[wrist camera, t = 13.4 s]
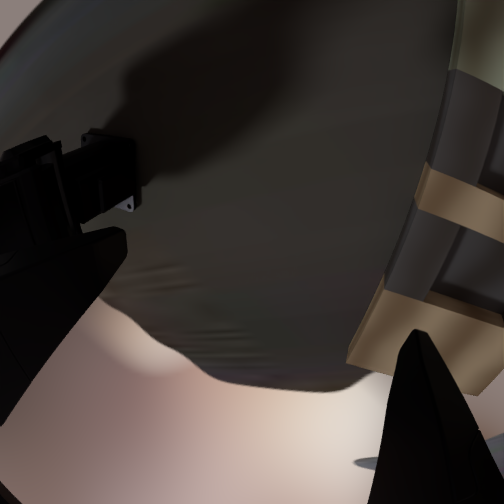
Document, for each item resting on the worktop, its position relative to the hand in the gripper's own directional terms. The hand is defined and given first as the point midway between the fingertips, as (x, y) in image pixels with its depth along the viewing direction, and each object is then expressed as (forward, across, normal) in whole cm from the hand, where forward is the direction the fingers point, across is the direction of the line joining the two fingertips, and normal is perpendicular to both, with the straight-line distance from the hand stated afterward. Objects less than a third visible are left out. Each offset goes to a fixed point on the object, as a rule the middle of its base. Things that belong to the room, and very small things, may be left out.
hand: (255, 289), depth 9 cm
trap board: (+13, -13, -1) cm, 18 cm away
